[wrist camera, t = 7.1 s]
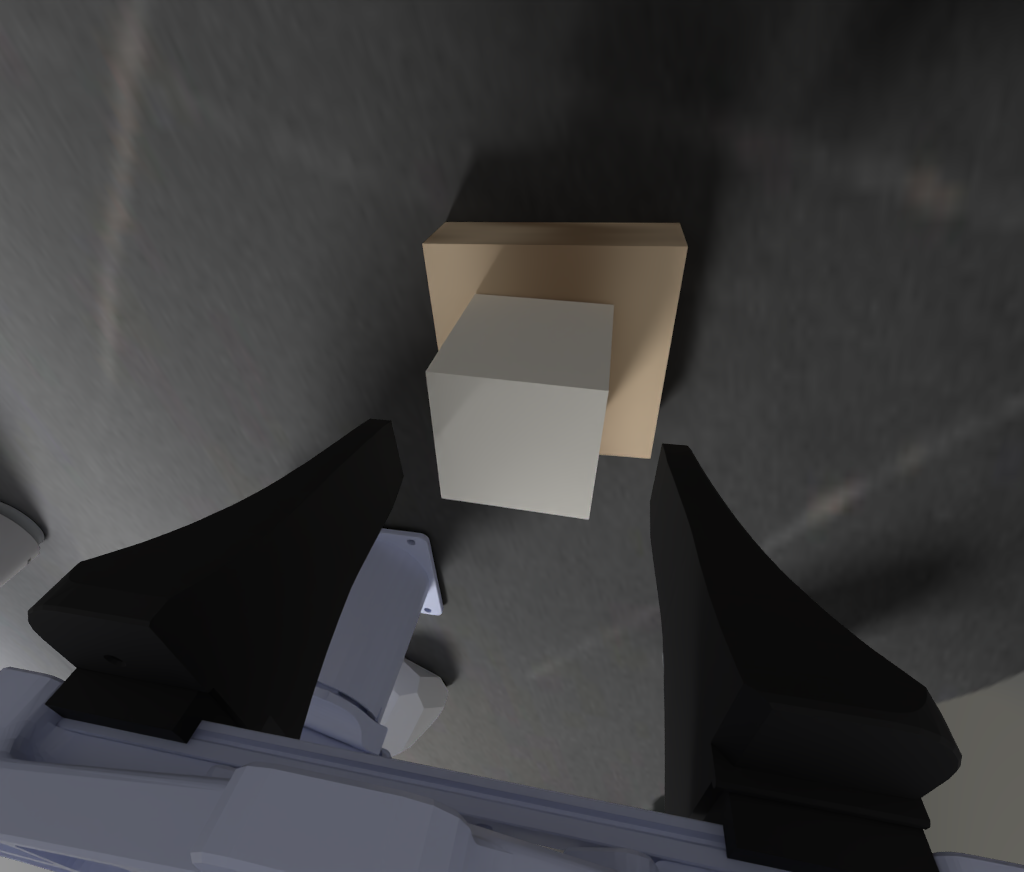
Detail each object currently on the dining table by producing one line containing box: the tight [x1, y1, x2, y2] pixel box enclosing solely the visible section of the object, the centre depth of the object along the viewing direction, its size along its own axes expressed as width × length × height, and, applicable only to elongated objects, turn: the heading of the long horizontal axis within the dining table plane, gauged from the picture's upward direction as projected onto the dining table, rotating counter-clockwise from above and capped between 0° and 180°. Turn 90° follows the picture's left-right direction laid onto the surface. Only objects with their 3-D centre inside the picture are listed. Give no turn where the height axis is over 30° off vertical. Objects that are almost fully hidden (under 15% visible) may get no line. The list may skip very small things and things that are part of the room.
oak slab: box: [422, 222, 688, 459], centre depth 18 cm, size 8×8×3 cm
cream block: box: [426, 294, 614, 520], centre depth 15 cm, size 4×4×5 cm
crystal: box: [380, 658, 449, 757], centre depth 43 cm, size 7×7×24 cm
